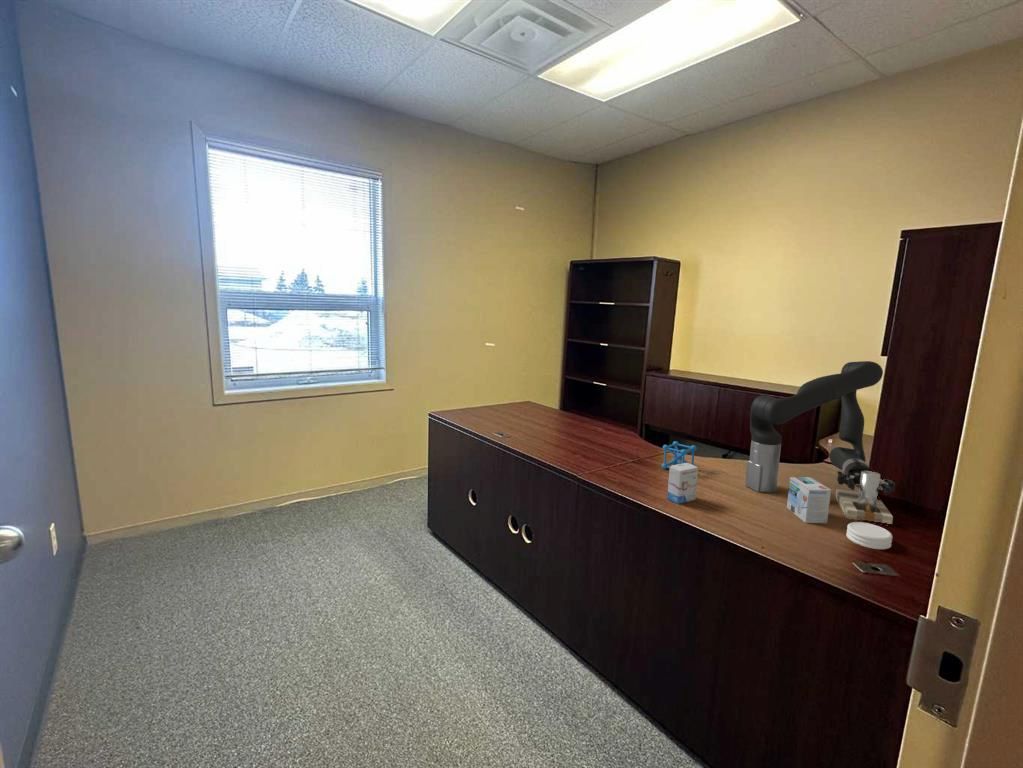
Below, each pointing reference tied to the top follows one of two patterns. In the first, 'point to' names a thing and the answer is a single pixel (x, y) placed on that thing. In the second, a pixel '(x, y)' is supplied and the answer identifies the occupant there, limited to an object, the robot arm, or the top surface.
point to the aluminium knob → (868, 491)
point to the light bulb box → (808, 499)
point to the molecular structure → (677, 456)
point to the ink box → (682, 483)
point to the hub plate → (850, 510)
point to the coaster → (869, 535)
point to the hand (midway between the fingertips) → (870, 489)
